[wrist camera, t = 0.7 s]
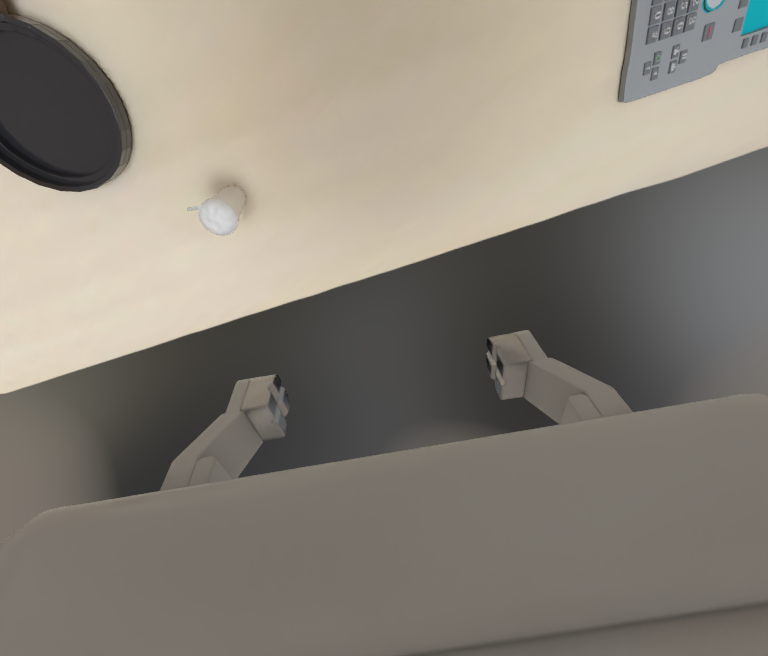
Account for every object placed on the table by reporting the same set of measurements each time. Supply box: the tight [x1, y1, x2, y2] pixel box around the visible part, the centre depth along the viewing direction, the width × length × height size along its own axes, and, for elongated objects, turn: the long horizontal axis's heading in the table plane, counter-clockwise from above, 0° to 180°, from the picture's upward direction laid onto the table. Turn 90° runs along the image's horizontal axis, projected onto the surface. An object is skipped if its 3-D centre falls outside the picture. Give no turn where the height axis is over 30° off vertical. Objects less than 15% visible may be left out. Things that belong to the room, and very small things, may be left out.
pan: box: [0, 13, 131, 192], centre depth 41 cm, size 17×17×3 cm
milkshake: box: [187, 185, 246, 236], centre depth 46 cm, size 4×5×10 cm
